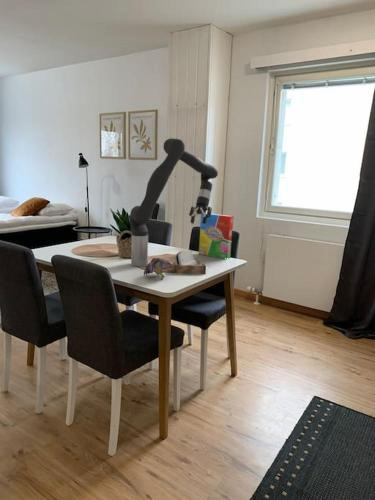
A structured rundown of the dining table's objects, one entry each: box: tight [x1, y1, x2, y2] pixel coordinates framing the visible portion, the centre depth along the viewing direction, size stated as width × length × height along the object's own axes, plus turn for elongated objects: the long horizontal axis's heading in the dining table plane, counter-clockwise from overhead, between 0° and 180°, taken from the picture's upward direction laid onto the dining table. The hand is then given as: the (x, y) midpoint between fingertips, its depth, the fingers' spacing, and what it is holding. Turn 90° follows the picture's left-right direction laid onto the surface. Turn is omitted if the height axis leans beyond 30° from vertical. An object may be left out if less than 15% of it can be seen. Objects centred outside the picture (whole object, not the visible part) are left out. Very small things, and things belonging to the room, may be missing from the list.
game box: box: [198, 213, 234, 260], centre depth 238 cm, size 21×6×27 cm, turn 60°
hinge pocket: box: [172, 261, 207, 275], centre depth 201 cm, size 17×7×4 cm, turn 96°
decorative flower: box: [143, 257, 173, 280], centre depth 187 cm, size 15×12×15 cm
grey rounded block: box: [174, 249, 198, 265], centre depth 213 cm, size 17×5×10 cm, turn 152°
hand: (197, 223), depth 222 cm, fingers open, 8 cm apart
